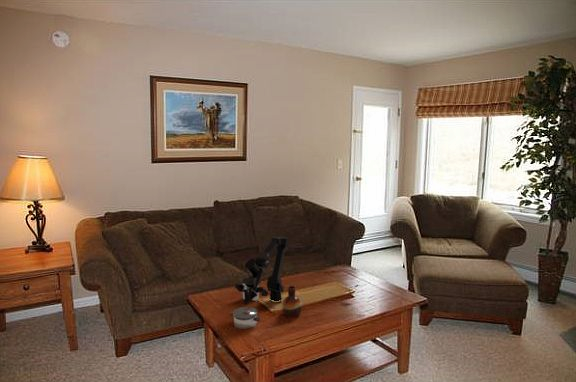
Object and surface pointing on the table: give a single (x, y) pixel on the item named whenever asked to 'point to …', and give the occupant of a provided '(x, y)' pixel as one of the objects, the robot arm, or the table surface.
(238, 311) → the cooker lid
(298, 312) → the vase
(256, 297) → the photo printer
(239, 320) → the cooker pot
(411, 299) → the table surface
